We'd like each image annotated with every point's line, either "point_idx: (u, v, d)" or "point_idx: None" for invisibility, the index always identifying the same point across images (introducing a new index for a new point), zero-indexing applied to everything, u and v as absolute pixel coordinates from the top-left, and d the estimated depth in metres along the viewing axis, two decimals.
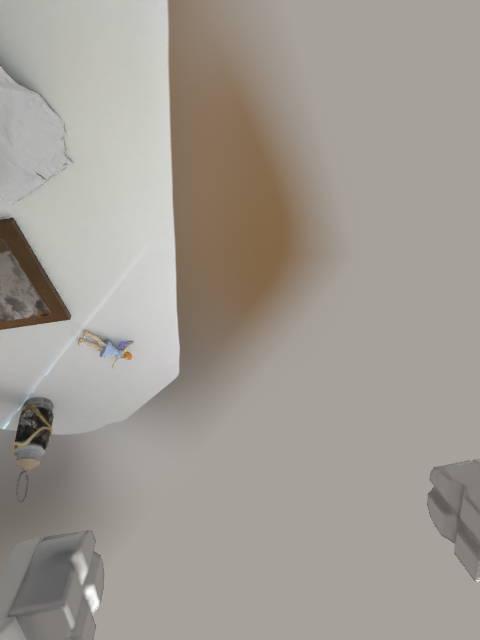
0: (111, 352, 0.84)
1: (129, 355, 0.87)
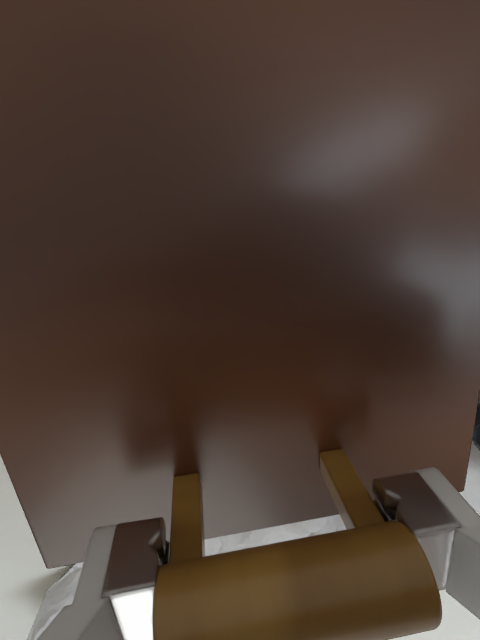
0: None
1: None
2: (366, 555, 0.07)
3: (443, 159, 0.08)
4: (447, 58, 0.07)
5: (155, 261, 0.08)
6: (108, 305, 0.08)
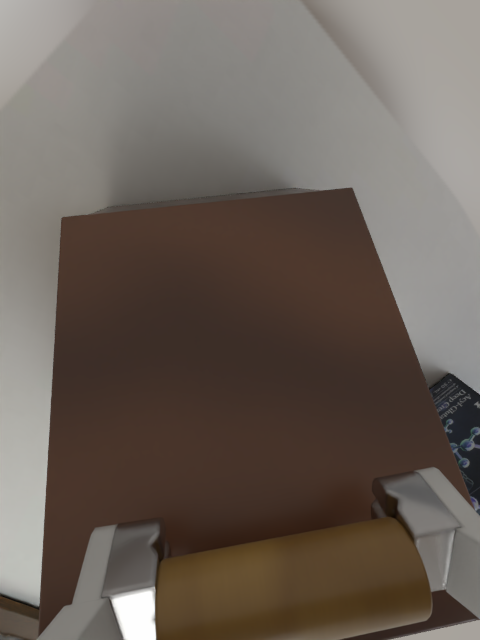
0: None
1: None
2: (346, 526, 0.08)
3: (351, 306, 0.14)
4: (335, 265, 0.15)
5: (186, 366, 0.13)
6: (153, 394, 0.12)
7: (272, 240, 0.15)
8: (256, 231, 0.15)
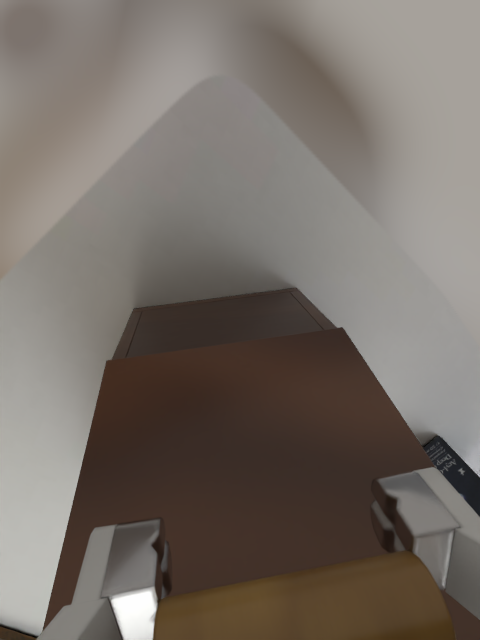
0: None
1: None
2: None
3: (353, 411, 0.15)
4: (335, 381, 0.17)
5: (201, 467, 0.14)
6: (169, 495, 0.13)
7: (278, 366, 0.18)
8: (264, 360, 0.18)
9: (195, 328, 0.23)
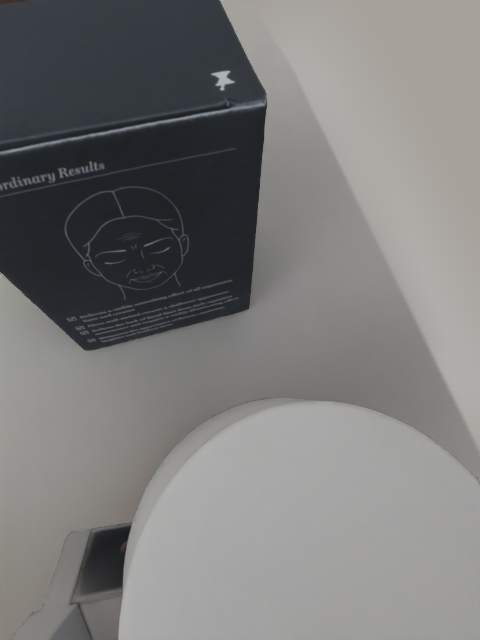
0: None
1: None
2: None
3: None
4: None
5: None
6: None
7: None
8: None
9: None
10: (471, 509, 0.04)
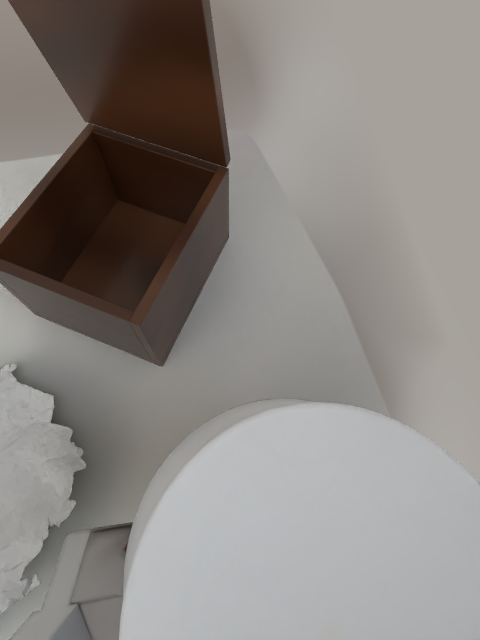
0: None
1: None
2: None
3: None
4: None
5: None
6: None
7: None
8: None
9: None
10: (472, 511, 0.04)
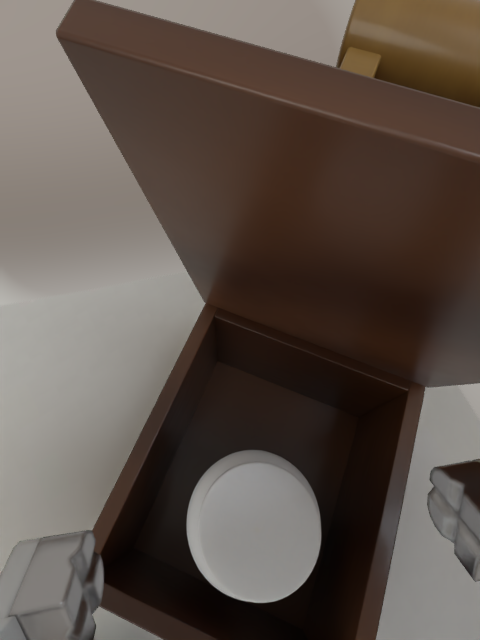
0: None
1: None
2: None
3: None
4: None
5: None
6: None
7: None
8: None
9: None
10: (302, 497, 0.14)
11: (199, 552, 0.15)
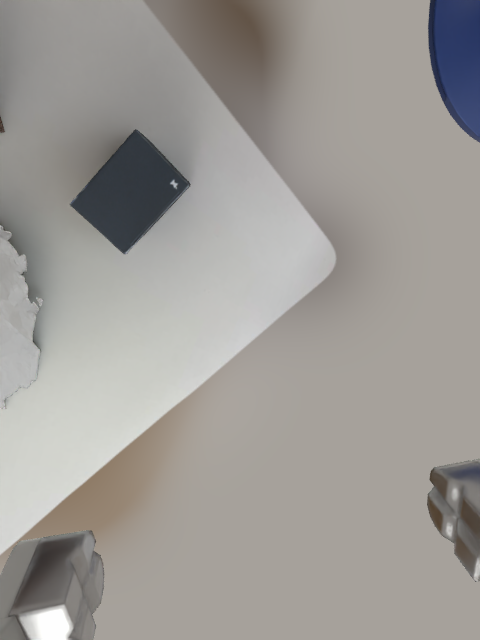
0: None
1: None
2: None
3: None
4: None
5: None
6: None
7: None
8: None
9: None
10: None
11: None
